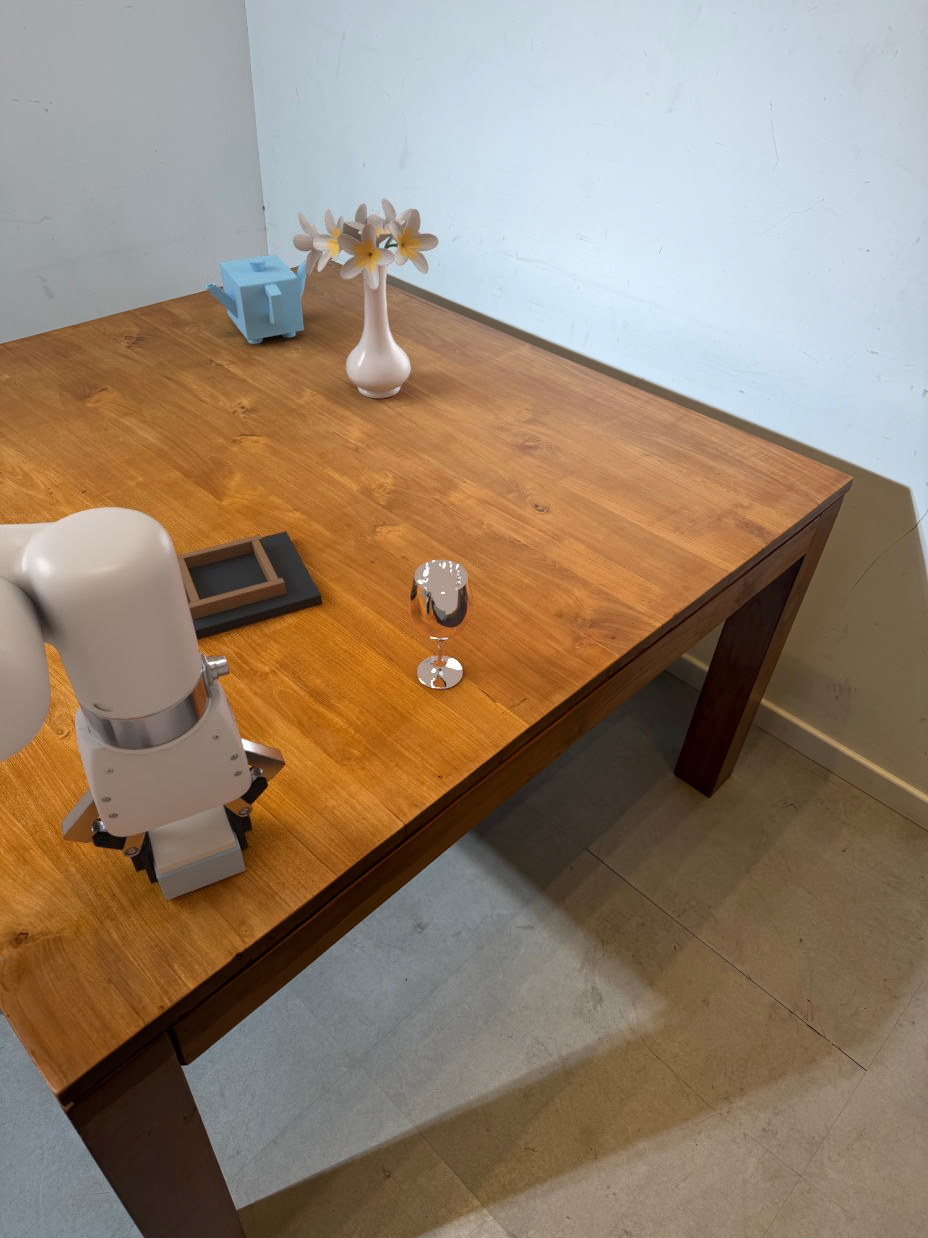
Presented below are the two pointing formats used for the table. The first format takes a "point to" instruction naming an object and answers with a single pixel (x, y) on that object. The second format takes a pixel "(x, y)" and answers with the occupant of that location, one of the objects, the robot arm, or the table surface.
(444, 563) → the wineglass
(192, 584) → the base pad
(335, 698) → the table surface
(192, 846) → the upper pad
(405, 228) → the flower vase
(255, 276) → the teapot
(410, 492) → the table surface
